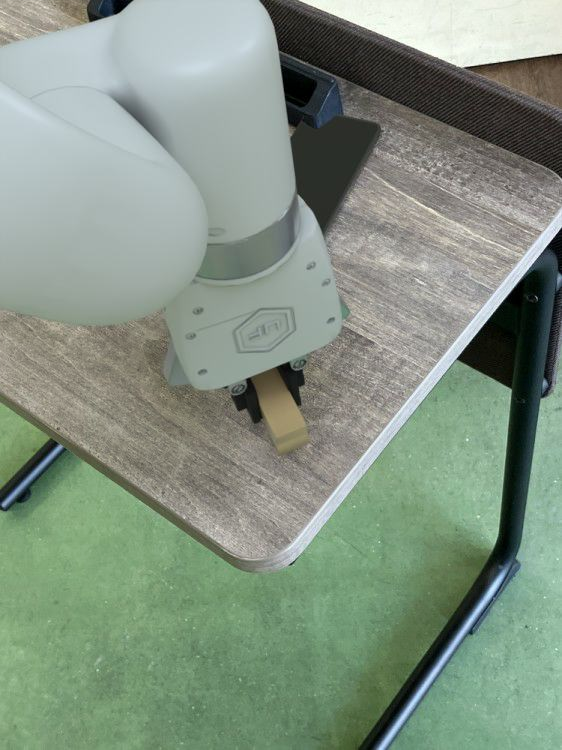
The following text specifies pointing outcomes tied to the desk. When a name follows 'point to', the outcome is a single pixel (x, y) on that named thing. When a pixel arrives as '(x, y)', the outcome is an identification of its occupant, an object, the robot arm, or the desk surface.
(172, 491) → the desk surface
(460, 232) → the desk surface
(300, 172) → the smartphone
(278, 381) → the spatula
